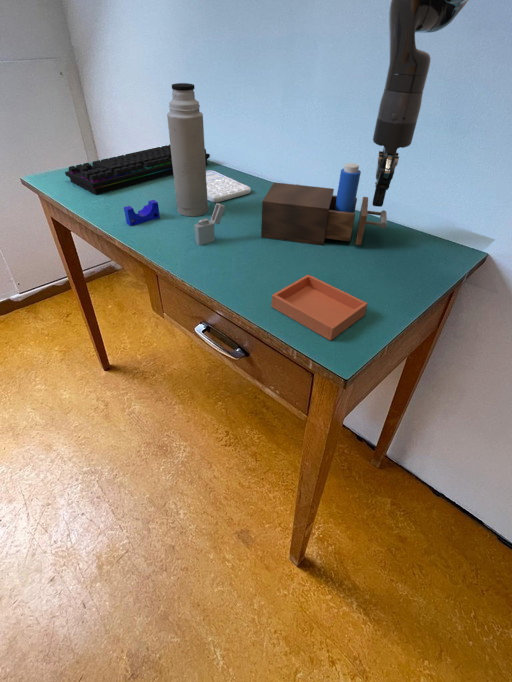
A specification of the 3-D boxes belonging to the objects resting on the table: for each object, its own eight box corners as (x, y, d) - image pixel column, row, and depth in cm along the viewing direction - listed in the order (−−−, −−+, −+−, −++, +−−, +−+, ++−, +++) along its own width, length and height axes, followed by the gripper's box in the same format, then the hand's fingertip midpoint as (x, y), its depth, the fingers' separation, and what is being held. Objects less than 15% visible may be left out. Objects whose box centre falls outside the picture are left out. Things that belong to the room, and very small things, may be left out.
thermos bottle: (171, 212, 102) (155, 84, 84) (190, 202, 108) (179, 80, 90) (195, 219, 99) (185, 88, 81) (214, 208, 105) (208, 83, 86)
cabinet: (328, 223, 99) (334, 188, 94) (323, 245, 90) (328, 208, 84) (272, 216, 102) (273, 182, 96) (261, 237, 92) (262, 201, 87)
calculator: (214, 204, 107) (213, 197, 106) (175, 183, 119) (175, 176, 117) (252, 193, 114) (252, 186, 112) (212, 174, 125) (212, 168, 124)
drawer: (382, 227, 96) (388, 199, 92) (382, 248, 88) (389, 218, 83) (307, 218, 99) (311, 190, 95) (301, 237, 91) (304, 208, 86)
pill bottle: (350, 225, 94) (362, 163, 85) (349, 232, 91) (361, 169, 82) (332, 222, 95) (342, 161, 86) (331, 230, 92) (341, 167, 83)
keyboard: (180, 154, 141) (178, 139, 138) (210, 164, 133) (210, 148, 130) (67, 181, 117) (62, 163, 114) (95, 196, 109) (91, 177, 106)
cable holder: (153, 213, 101) (150, 197, 99) (159, 218, 99) (157, 202, 97) (124, 221, 97) (120, 205, 95) (130, 226, 95) (127, 209, 93)
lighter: (199, 245, 89) (196, 210, 83) (195, 242, 90) (192, 208, 84) (226, 238, 92) (225, 204, 87) (222, 235, 93) (221, 201, 88)
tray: (364, 315, 70) (367, 303, 68) (330, 341, 64) (332, 328, 63) (306, 285, 77) (308, 274, 75) (271, 306, 71) (271, 294, 70)
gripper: (419, 126, 71) (395, 219, 82) (415, 111, 81) (393, 196, 92) (377, 123, 72) (358, 214, 84) (377, 109, 82) (361, 192, 93)
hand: (377, 205), depth 88 cm, fingers closed
